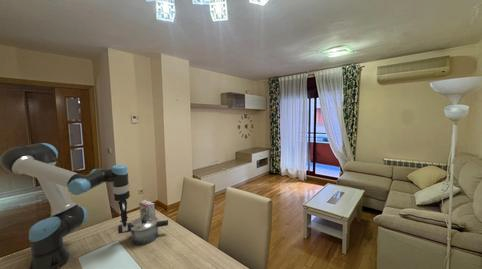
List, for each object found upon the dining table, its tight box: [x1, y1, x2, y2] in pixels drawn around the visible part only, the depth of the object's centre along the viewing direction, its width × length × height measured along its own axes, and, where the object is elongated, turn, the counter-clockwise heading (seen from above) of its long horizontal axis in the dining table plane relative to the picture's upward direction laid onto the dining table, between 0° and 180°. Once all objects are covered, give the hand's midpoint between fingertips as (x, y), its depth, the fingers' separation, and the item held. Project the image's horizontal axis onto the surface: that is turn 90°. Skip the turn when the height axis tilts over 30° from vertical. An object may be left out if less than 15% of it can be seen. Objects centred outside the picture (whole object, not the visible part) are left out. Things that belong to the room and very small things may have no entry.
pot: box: [118, 219, 169, 247], centre depth 122 cm, size 28×15×9 cm, turn 106°
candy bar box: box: [138, 199, 156, 218], centre depth 136 cm, size 11×5×16 cm, turn 58°
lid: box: [117, 215, 159, 232], centre depth 120 cm, size 22×16×3 cm
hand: (125, 230), depth 113 cm, fingers closed
